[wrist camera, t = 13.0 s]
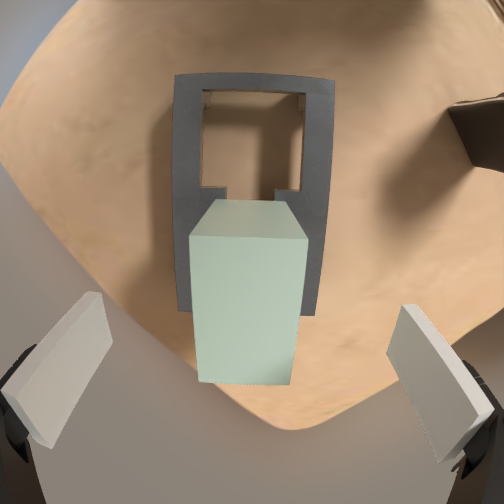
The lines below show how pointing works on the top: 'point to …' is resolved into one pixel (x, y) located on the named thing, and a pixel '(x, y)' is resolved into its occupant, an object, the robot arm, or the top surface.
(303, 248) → the pale green boxy piece
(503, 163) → the battery charger
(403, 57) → the top surface
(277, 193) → the keyhole plate
